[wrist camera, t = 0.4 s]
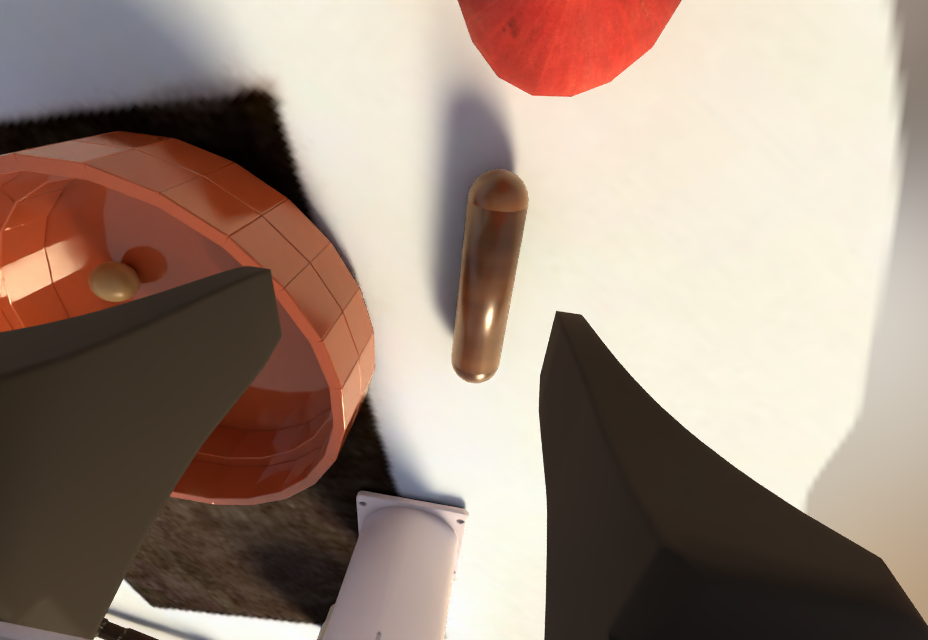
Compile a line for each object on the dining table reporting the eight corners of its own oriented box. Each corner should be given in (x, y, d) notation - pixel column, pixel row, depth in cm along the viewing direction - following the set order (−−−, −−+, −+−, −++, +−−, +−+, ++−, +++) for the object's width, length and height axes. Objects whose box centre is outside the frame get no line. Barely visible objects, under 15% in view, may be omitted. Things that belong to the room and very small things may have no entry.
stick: (497, 366, 23) (494, 396, 21) (453, 359, 23) (446, 389, 21) (533, 166, 17) (533, 182, 15) (474, 159, 17) (467, 174, 15)
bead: (154, 292, 23) (124, 312, 21) (119, 286, 23) (86, 305, 21) (142, 257, 21) (109, 275, 20) (105, 252, 22) (69, 269, 20)
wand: (-22, 600, 46) (241, 703, 49) (17, 563, 49) (261, 662, 52) (-16, 614, 48) (235, 712, 51) (21, 577, 51) (254, 671, 54)
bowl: (379, 459, 28) (353, 530, 24) (108, 412, 30) (39, 472, 25) (373, 161, 18) (325, 196, 14) (-48, 104, 19) (-211, 121, 15)
